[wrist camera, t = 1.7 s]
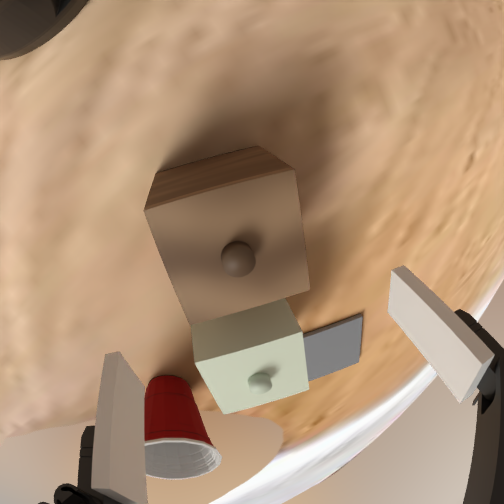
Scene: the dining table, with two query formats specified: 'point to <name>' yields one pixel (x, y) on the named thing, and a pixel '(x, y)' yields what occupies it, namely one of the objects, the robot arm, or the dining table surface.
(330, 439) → the dining table surface
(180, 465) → the plastic cup
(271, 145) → the dining table surface
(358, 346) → the grey square plate
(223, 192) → the walnut cover
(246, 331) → the sage cover
